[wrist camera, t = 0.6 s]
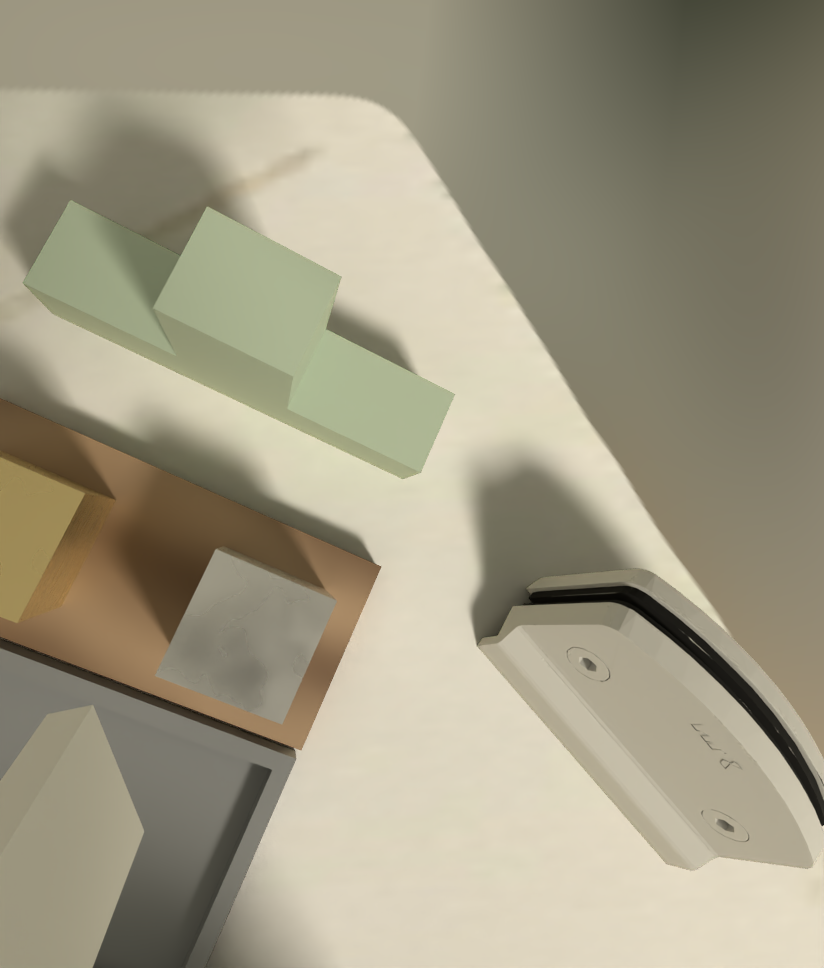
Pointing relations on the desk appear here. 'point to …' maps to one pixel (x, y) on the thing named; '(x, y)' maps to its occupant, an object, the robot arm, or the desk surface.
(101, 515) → the mustard yellow cube
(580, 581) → the white curved block
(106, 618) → the deck
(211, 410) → the desk surface
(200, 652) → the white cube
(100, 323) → the stepped sage beam
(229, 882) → the tray
